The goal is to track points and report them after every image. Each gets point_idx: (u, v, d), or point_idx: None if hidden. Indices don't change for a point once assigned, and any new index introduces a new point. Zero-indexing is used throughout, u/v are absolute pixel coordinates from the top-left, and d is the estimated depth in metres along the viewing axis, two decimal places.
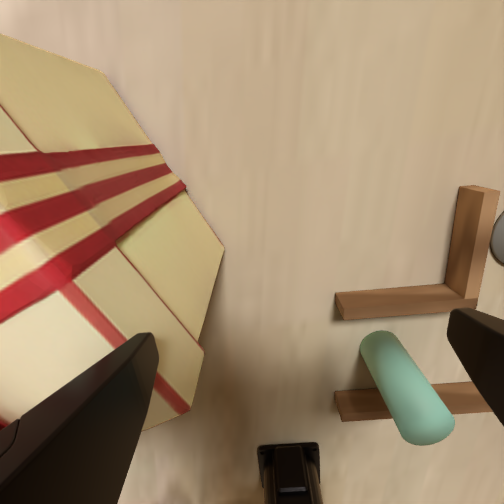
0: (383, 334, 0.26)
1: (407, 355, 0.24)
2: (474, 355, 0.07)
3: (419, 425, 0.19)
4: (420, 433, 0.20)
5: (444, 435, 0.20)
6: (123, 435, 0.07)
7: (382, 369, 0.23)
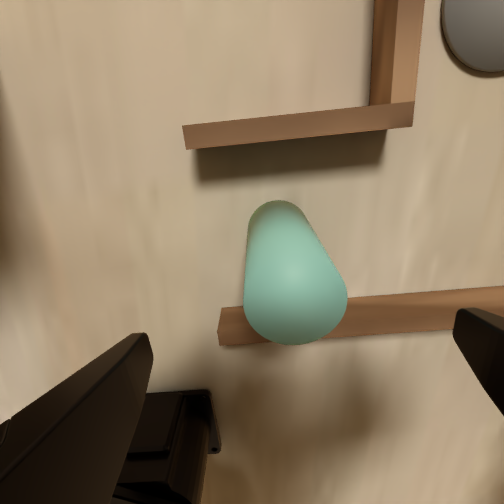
0: (277, 202, 0.16)
1: (301, 218, 0.14)
2: (481, 355, 0.07)
3: (279, 300, 0.10)
4: (284, 317, 0.10)
5: (331, 322, 0.10)
6: (115, 435, 0.07)
7: (253, 235, 0.13)
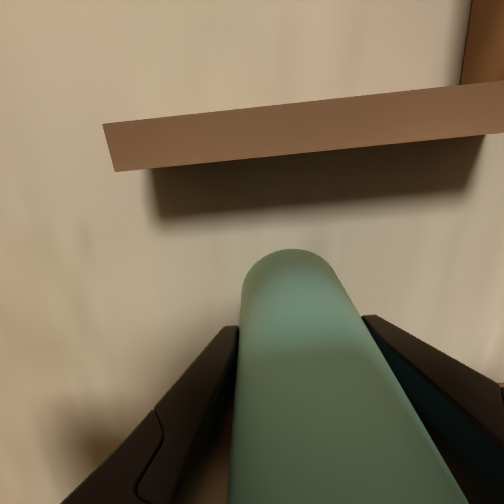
0: (291, 255, 0.10)
1: (341, 300, 0.07)
2: None
3: None
4: None
5: None
6: None
7: (248, 342, 0.07)
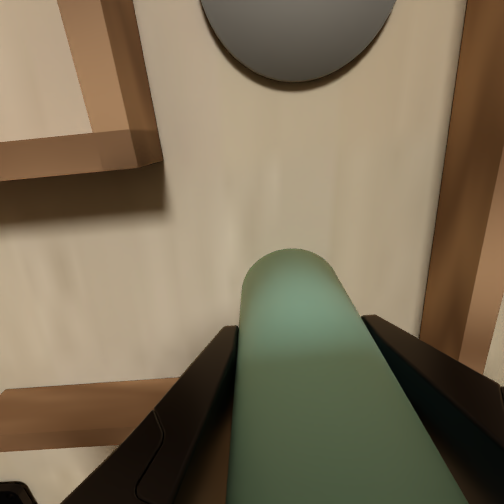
0: (291, 255, 0.10)
1: (340, 299, 0.07)
2: None
3: None
4: None
5: None
6: None
7: (248, 341, 0.07)
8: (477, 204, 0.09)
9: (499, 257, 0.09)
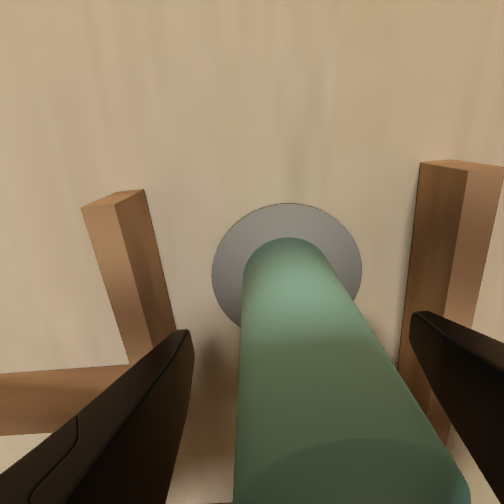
0: (287, 242, 0.11)
1: (330, 277, 0.09)
2: (430, 358, 0.08)
3: None
4: None
5: None
6: (170, 432, 0.07)
7: (251, 311, 0.08)
8: None
9: None
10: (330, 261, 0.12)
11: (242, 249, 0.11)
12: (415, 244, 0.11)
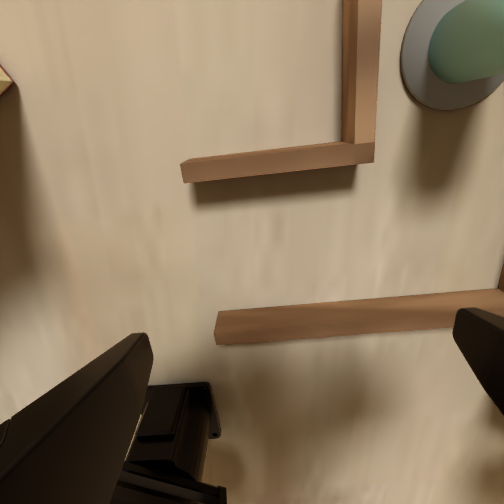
0: None
1: None
2: (481, 355, 0.07)
3: None
4: None
5: None
6: (115, 435, 0.07)
7: None
8: None
9: None
10: None
11: (434, 14, 0.15)
12: None
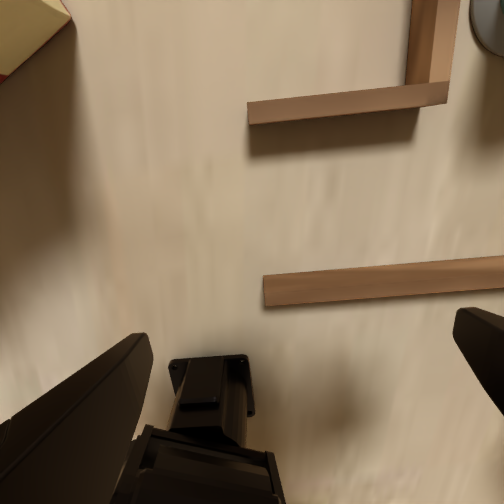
0: None
1: None
2: (481, 355, 0.07)
3: None
4: None
5: None
6: (115, 435, 0.07)
7: None
8: None
9: None
10: None
11: None
12: None
